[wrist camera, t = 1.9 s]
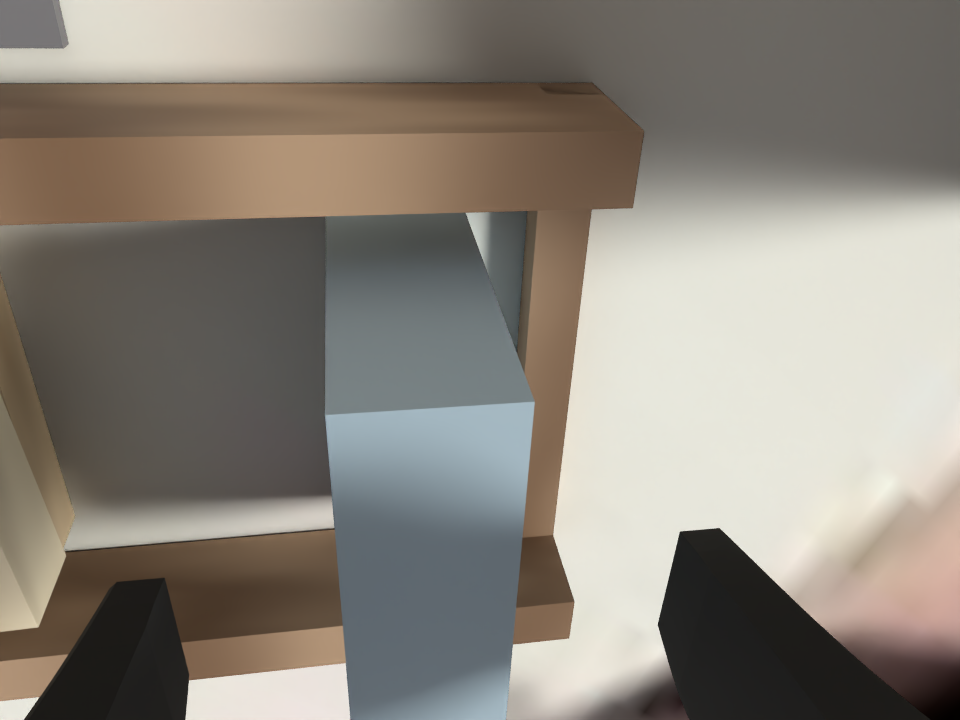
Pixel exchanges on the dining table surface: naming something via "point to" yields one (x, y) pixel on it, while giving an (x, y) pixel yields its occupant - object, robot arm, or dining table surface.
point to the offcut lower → (31, 421)
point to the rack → (313, 193)
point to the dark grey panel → (31, 24)
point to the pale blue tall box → (423, 466)
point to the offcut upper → (23, 538)
